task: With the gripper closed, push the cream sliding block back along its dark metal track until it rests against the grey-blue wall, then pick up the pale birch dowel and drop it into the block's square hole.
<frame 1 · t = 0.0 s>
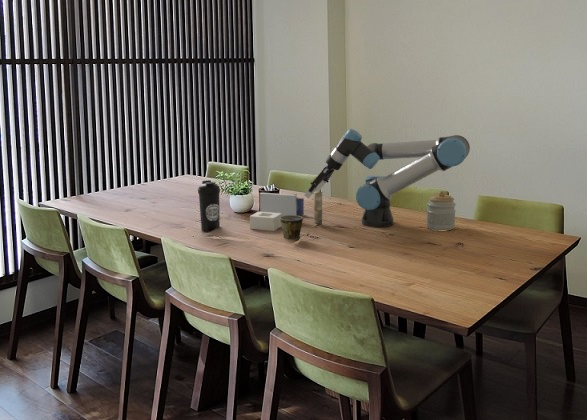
hand: (311, 193, 332), 15 cm above the table, tool tilted 35°, fingers open, 13 cm apart
water bottle: (210, 230, 330), on the table
sliding block: (265, 221, 327), point 4 cm above the table, slide at 9.0 cm
jar: (440, 228, 327), on the table
ceramic cup: (291, 241, 309), on the table
dowel: (318, 225, 336), on the table
flask: (295, 215, 358), on the table
backstop wall: (278, 222, 342), on the table
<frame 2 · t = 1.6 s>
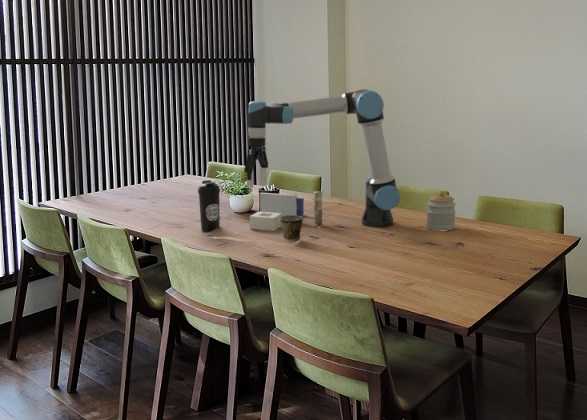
hand: (256, 184, 313), 23 cm above the table, tool pointing down, fingers open, 13 cm apart
nothing on the table moved.
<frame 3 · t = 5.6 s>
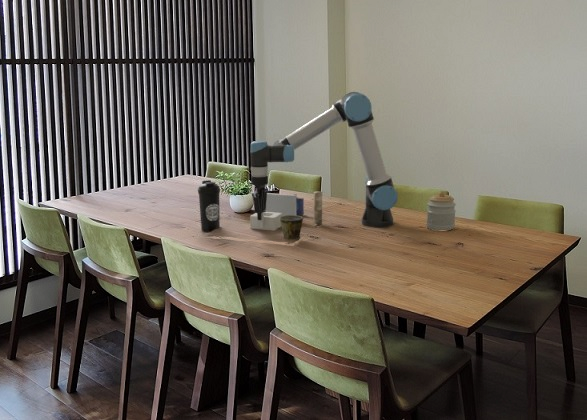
hand: (260, 226, 321), 3 cm above the table, tool pointing down, fingers closed
sliding block: (266, 220, 328), point 4 cm above the table, slide at 8.4 cm, touching gripper
everything else where it was.
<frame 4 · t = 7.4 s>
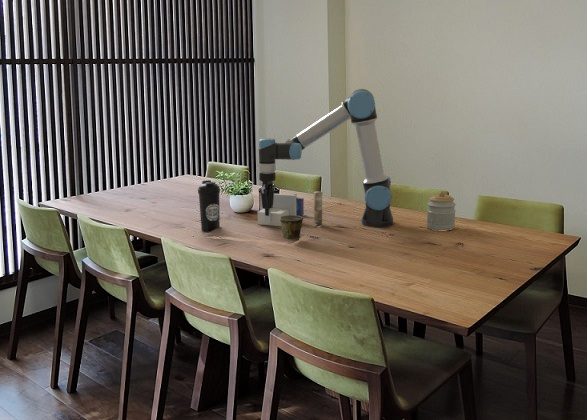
hand: (268, 221, 329), 3 cm above the table, tool pointing down, fingers closed
sliding block: (273, 216, 335), point 4 cm above the table, slide at -0.1 cm, touching gripper
everything else where it was.
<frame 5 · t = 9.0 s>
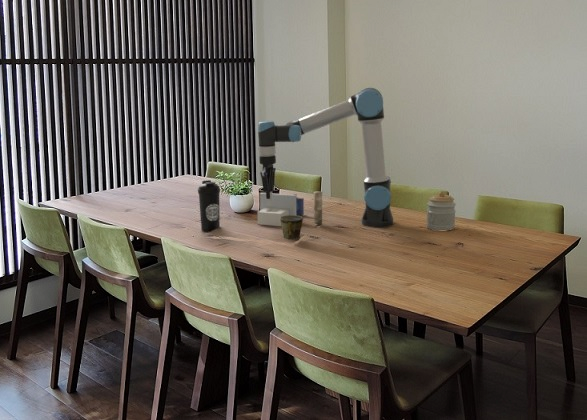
hand: (269, 205, 328), 11 cm above the table, tool pointing down, fingers closed
sliding block: (273, 216, 335), point 4 cm above the table, slide at 0.0 cm
everything else where it was.
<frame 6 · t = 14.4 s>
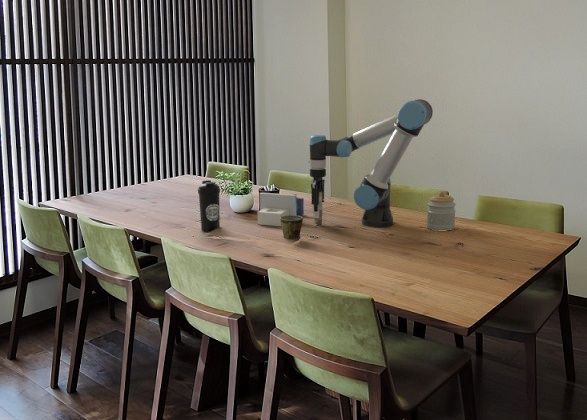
hand: (318, 216, 335), 4 cm above the table, tool pointing down, fingers closed on dowel, 4 cm apart
dowel: (317, 225, 336), on the table, touching gripper
everything else where it was.
when the fingers open (9 cm above the table, at t = 20.4 s): dowel drops 2 cm, resting on sliding block.
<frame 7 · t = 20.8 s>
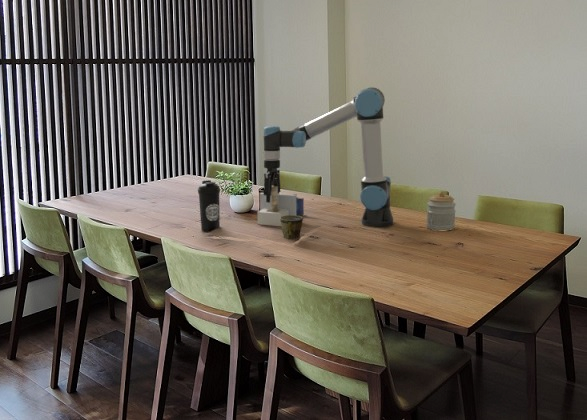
hand: (272, 207, 333), 9 cm above the table, tool pointing down, fingers open, 8 cm apart
sliding block: (273, 216, 335), point 4 cm above the table, slide at 0.0 cm, touching dowel
dowel: (273, 219, 336), point 3 cm above the table, touching sliding block
everything else where it was.
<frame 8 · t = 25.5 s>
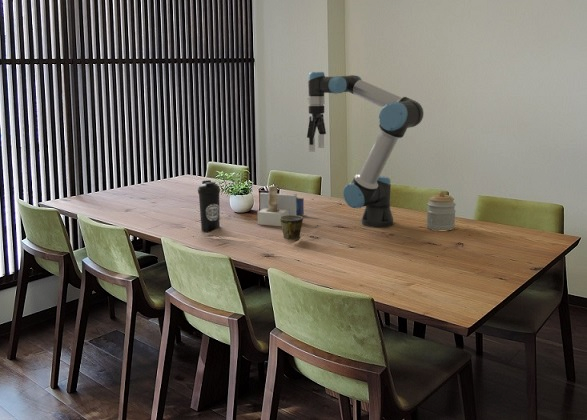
hand: (316, 149, 339), 35 cm above the table, tool pointing down, fingers open, 13 cm apart
nothing on the table moved.
at the end: sliding block slide at 0.0 cm; dowel 0.1 cm off-centre on the sliding block, point 1.5 cm above the sliding block's base; dowel tilted 1° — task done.
